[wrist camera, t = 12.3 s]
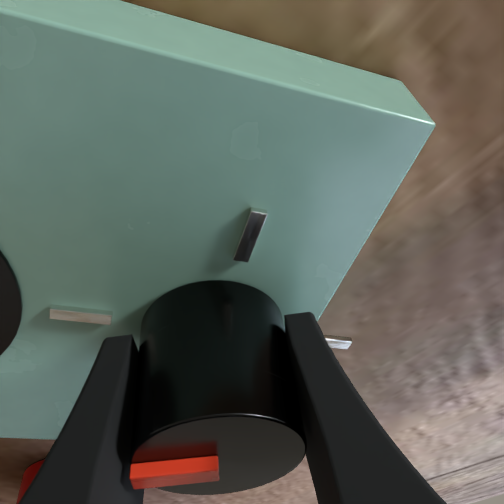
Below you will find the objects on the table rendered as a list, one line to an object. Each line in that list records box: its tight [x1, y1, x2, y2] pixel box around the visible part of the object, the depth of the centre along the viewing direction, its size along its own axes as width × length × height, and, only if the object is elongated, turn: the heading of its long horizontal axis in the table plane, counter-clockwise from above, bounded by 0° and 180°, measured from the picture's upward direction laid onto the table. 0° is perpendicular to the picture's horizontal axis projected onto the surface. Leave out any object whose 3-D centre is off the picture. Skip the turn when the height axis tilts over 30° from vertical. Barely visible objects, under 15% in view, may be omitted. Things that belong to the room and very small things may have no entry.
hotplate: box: [0, 0, 435, 440], centre depth 12 cm, size 16×13×2 cm
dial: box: [129, 280, 307, 495], centre depth 11 cm, size 4×4×4 cm
